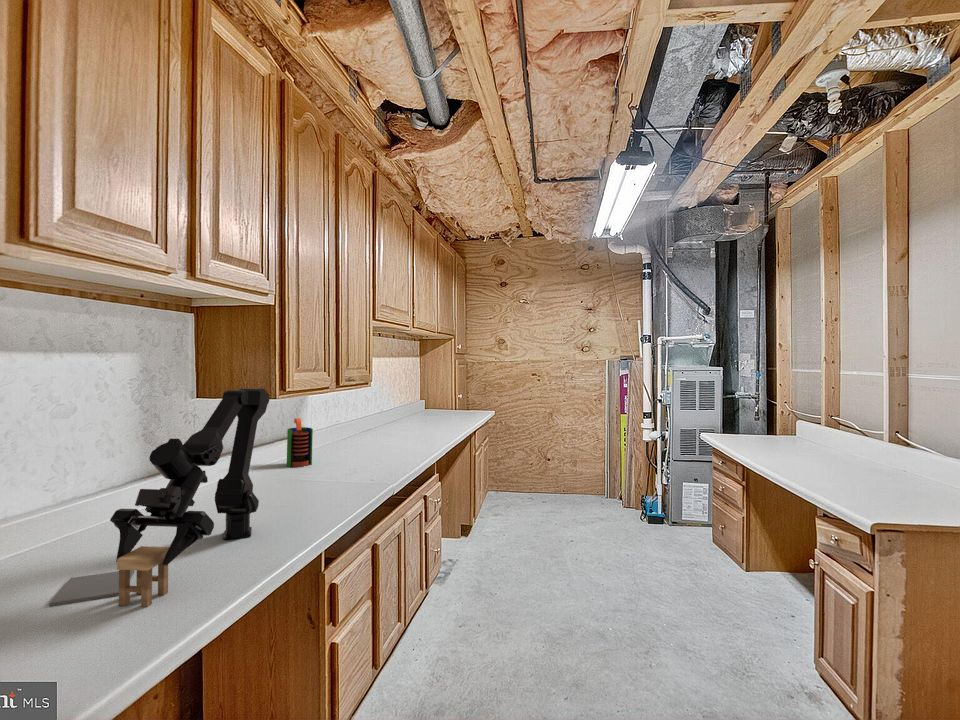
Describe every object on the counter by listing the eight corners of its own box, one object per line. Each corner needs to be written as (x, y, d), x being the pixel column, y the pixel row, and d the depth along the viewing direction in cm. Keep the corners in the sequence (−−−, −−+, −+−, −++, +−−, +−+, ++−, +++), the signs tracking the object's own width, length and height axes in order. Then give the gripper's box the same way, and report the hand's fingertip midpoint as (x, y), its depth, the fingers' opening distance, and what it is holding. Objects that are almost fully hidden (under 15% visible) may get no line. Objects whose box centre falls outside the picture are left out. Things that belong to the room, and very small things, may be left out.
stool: (140, 590, 96) (141, 546, 96) (169, 591, 96) (170, 547, 96) (116, 606, 90) (117, 558, 90) (147, 607, 90) (147, 560, 90)
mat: (70, 580, 100) (70, 577, 100) (134, 571, 104) (134, 569, 104) (49, 606, 90) (49, 603, 90) (120, 595, 94) (120, 592, 94)
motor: (293, 468, 199) (294, 421, 199) (281, 465, 204) (282, 419, 204) (314, 464, 207) (315, 418, 207) (303, 461, 213) (303, 416, 212)
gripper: (118, 469, 98) (68, 544, 87) (206, 472, 97) (167, 547, 86) (146, 496, 106) (103, 568, 95) (228, 499, 105) (195, 571, 94)
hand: (141, 563), depth 92 cm, fingers open, 9 cm apart
